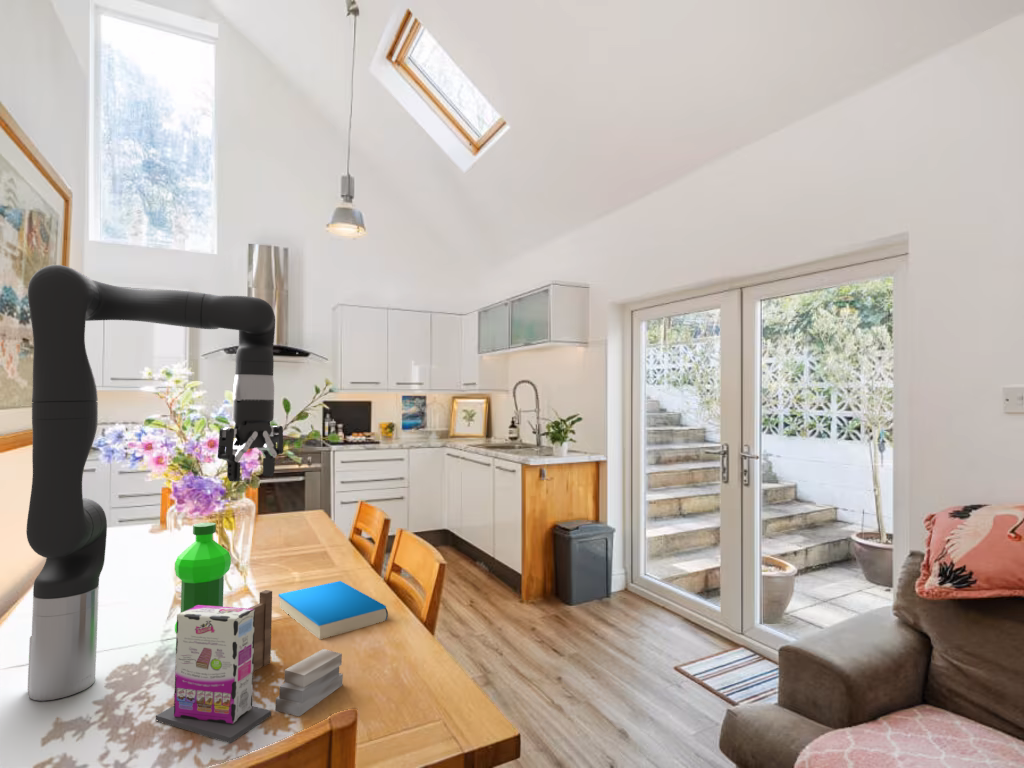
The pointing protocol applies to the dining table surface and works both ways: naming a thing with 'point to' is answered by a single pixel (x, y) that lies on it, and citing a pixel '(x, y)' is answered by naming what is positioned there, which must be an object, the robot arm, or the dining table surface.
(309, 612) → the book
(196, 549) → the plastic bottle
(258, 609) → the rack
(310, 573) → the dining table surface
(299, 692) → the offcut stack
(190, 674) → the candy bar box
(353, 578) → the dining table surface
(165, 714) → the mat
